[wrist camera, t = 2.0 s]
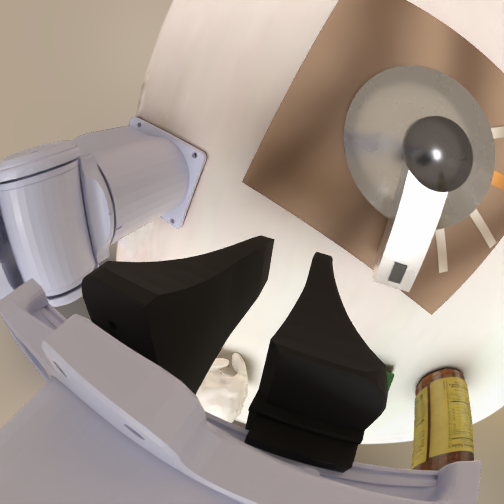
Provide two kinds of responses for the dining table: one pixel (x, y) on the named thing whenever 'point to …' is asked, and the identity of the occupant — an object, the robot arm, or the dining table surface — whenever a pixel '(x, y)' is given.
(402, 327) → the dining table surface
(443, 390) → the sauce bottle
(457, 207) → the dial
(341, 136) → the dial plate
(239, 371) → the white lumpy piece
